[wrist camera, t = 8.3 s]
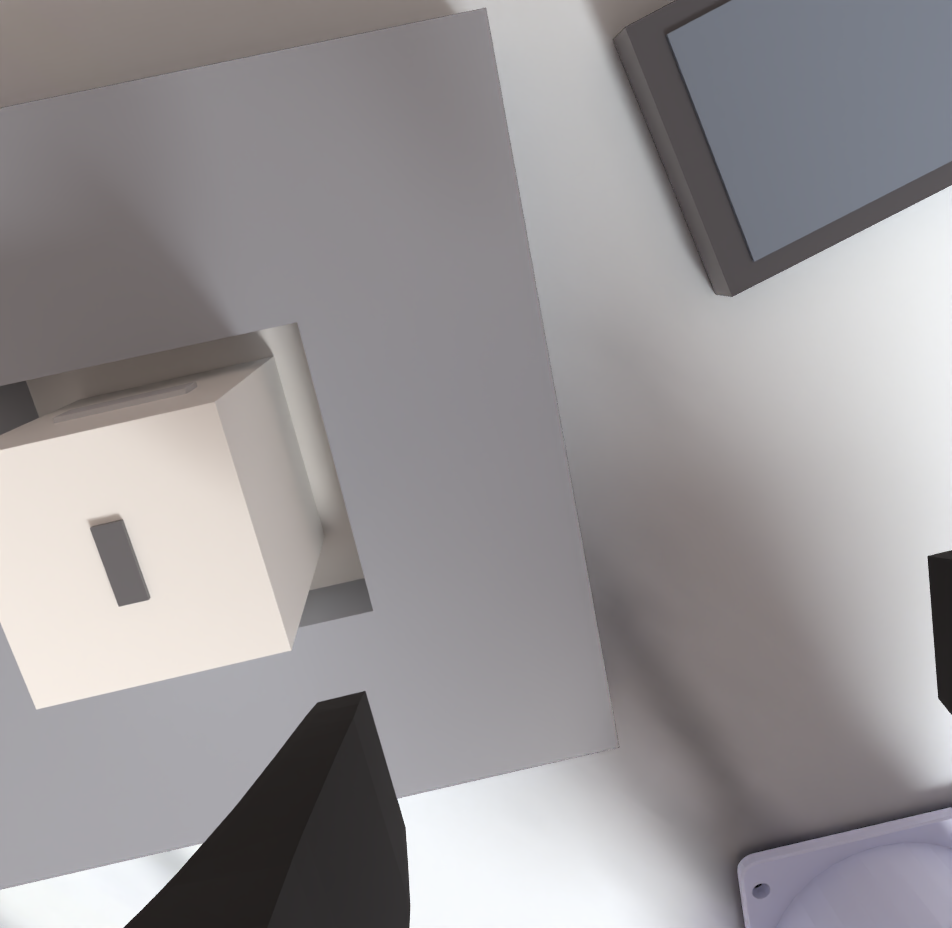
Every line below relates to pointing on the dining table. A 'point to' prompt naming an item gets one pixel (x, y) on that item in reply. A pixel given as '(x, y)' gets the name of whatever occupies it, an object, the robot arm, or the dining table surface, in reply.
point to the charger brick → (155, 533)
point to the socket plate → (308, 418)
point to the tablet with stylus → (793, 120)
